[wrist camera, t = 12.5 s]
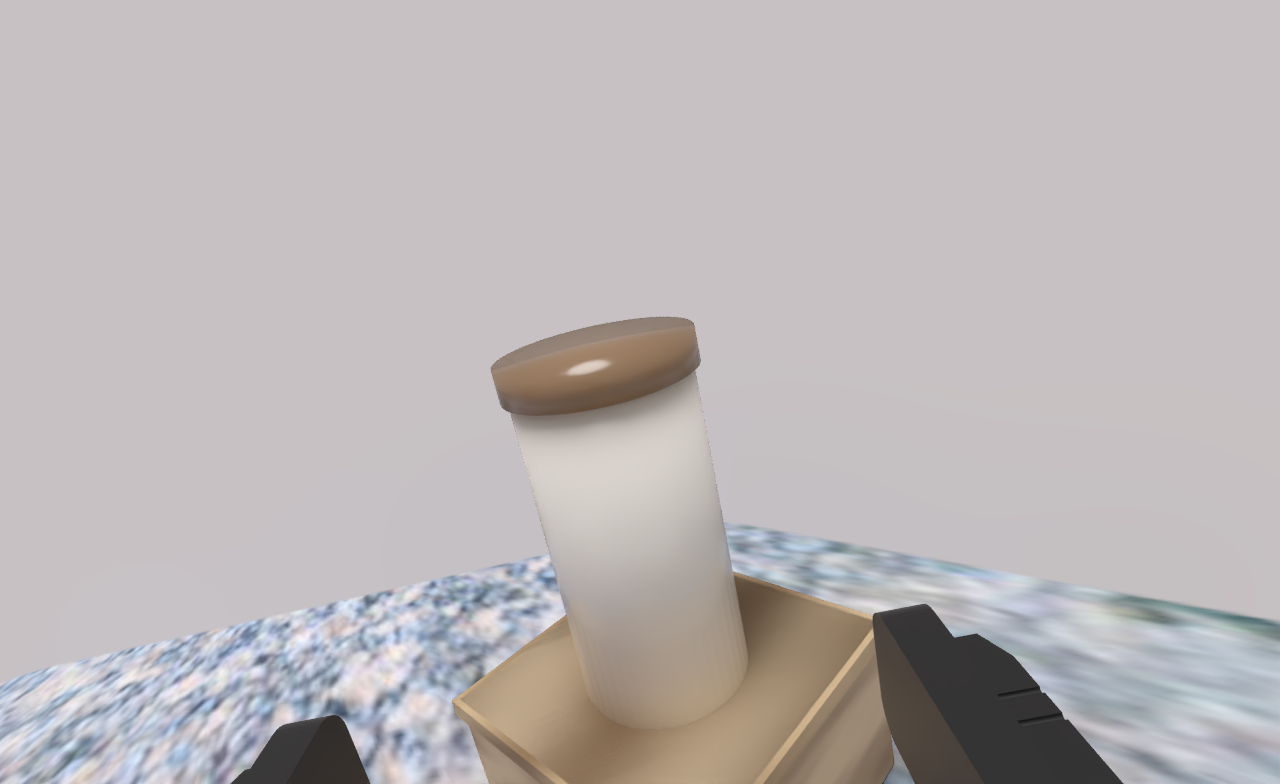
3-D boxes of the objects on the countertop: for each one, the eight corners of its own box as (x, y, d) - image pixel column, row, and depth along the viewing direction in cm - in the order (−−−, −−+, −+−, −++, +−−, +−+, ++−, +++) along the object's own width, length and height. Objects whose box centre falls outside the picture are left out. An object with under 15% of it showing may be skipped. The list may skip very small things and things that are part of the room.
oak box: (498, 834, 23) (451, 701, 22) (681, 658, 30) (656, 547, 28) (729, 1061, 16) (685, 887, 14) (902, 762, 23) (886, 620, 21)
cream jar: (545, 686, 21) (451, 373, 18) (659, 591, 25) (598, 318, 22) (676, 768, 17) (584, 383, 14) (789, 640, 21) (736, 314, 18)
